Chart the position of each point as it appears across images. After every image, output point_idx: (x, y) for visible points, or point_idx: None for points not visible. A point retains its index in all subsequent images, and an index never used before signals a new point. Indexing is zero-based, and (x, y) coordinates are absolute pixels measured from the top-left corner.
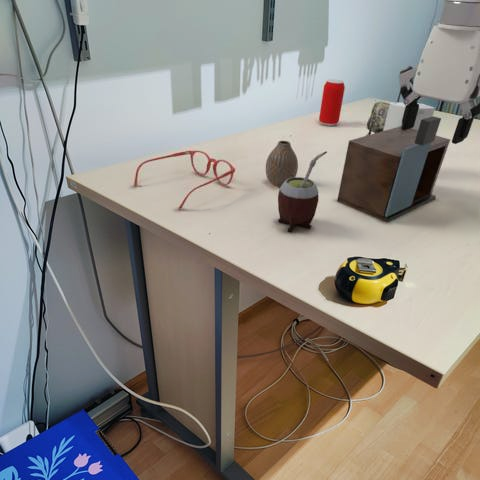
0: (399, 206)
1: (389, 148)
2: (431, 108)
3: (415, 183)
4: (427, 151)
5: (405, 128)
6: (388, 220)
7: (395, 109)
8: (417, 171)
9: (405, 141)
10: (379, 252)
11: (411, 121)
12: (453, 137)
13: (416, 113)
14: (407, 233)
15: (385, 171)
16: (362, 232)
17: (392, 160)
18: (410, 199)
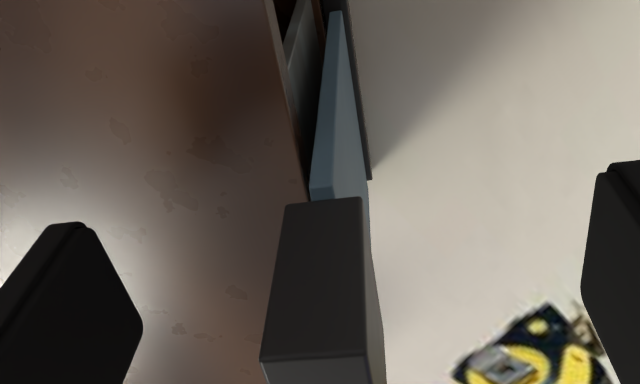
0: (358, 133)
1: (208, 334)
2: None
3: (345, 87)
4: (337, 154)
5: (141, 335)
6: (371, 171)
7: None
8: (348, 141)
9: (104, 151)
10: (485, 311)
11: (92, 321)
12: (600, 328)
13: (31, 335)
14: (469, 168)
15: None
16: (375, 275)
17: None
18: (345, 52)
